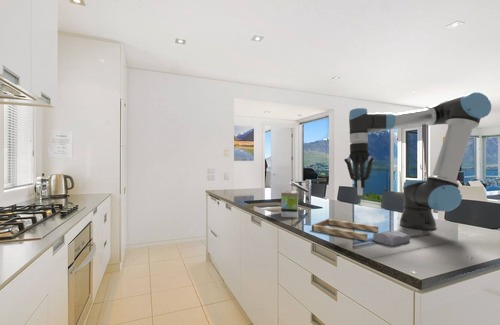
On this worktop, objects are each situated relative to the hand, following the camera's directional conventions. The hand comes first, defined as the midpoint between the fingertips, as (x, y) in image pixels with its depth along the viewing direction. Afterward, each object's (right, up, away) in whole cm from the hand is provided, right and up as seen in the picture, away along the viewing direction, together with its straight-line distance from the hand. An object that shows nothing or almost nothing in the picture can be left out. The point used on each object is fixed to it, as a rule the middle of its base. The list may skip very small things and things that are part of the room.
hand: (360, 195), depth 112 cm
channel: (-5, -18, +4) cm, 19 cm away
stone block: (+8, -18, -11) cm, 22 cm away
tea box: (-25, -18, +42) cm, 52 cm away
